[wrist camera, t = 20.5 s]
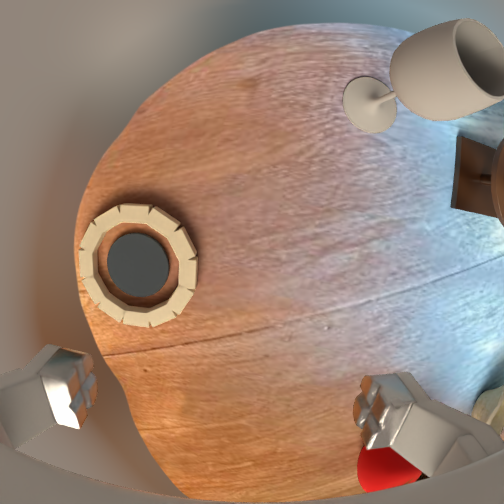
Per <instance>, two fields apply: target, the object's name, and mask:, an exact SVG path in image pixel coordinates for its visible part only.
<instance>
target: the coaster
mask: <svg viewBox="0 0 504 504" xmlns="http://www.w3.org/2000/svg"><path fill="white" fill-rule="evenodd" d="M107 266H108V271H109V274H110V276H111V279H112V280H113V282H114V283H115V284H116V286H117V287H118V288H119V289H121V290H122V291H123V292H125V293H127V294H129V295H132V296H136V297H146V296H150V295H153V294H155V293H156V292H158V291H159V290H160V289H161V288H162V287H163V285H164V284H165V282H166V280H167V278H168V275H169V260H168V256H167V254H166V252H165V250H164V248H163V247H162V245H161V244H160V243H159V242H158V241H157V240H155V239H154V238H153V237H151V236H149V235H147V234H143V233H129V234H126V235H124V236H122V237H120V238H119V239H117V240H116V241H115V242H114V243H113V245H112V246H111V248H110V250H109V253H108V258H107Z"/></svg>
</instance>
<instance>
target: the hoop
mask: <svg viewBox="0 0 504 504" xmlns="http://www.w3.org/2000/svg"><path fill="white" fill-rule="evenodd" d="M122 222H130V223H145V224H147V225H149V226H150V227H152V228H153V229H155V230H156V231H158V232H159V233H160V234H162V235H163V236H165V237H166V238H167V239H168V241H169V243H170V244H171V246H172V248H173V250H174V252H175V254H176V256H177V258H178V260H179V285H178V286H177V288H176V289H175V291H174V292H173V294H172V295H171V297H170V298H169V300H167V301H164V302H162V303H160V304H157V305H155V306H153V307H151V308H145V307H137V306H129V305H127V304H125V303H124V302H122V301H121V300H119V299H118V298H116V297H115V296H114V295H112V294H111V293H109V291H108V289H107V287H106V286H105V284H104V282H103V280H102V278H101V277H100V275H99V273H98V256H97V250H98V248H99V246H100V244H101V242H102V240H103V238H104V236H105V234H106V233H107V231H108V230H110V229H111V228H113V227H115V226H117V225H118V224H120V223H122ZM179 225H180V222H179V221H178V220H176V219H175V218H173V217H172V216H170V215H169V214H167V213H166V212H164V211H163V210H161V209H160V208H159V207H157V206H156V207H154V208H152V205H149V204H131V203H124V204H120V205H117V206H115V207H113V208H111V209H110V210H108V211H106V212H105V213H103V214H101V215H100V216H98V217H96V218H95V219H94V221H93V222H91V223H90V225H89V227H88V229H87V231H86V233H85V235H84V237H83V239H82V241H81V244H80V247H81V249H80V250H79V265H80V277H85V278H84V279H83V280H82V283H83V284H84V286H85V288H86V290H87V291H88V293H89V295H90V297H91V298H92V300H93V302H94V303H95V304H97V303H99V302H100V304H99V306H98V308H99V309H101V310H102V311H104V312H105V313H107V314H108V315H109V316H111V317H112V318H114V319H115V320H117V321H118V322H121V320H122V319H123V324H127V325H134V326H141V327H149V326H150V325H152V327H154V326H157V325H159V324H161V323H164V322H166V321H169V320H171V319H173V318H176V316H177V314H180V313H181V311H182V310H183V309H184V307H185V306H186V304H187V303H188V301H189V300H190V298H191V297H192V295H193V294H194V292H195V289H196V286H197V272H198V257H195V256H196V254H197V251H196V249H195V247H194V245H193V243H192V241H191V239H190V237H189V235H188V234H187V232H186V230H185V228H184V226H183V227H181V228H179V229H177V228H178V226H179Z"/></svg>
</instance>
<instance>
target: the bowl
mask: <svg viewBox="0 0 504 504" xmlns="http://www.w3.org/2000/svg"><path fill="white" fill-rule="evenodd" d="M471 417H473V418H475V419H477V420H479V421H482V422H484V423H486V424H488V425H490V426H491V427H492V428H493V429H494V430H495V431H496V433H497V434H498V435H499V436H500V434H501V432H502V430H503V427H504V385H502V386H501V387H498V388H496V389H493V390H487V391H485V392H483V393H482V394H481V395H480V397H479V398H478V399H477V401H476V403H475V405H474V407H473V411H472V416H471Z"/></svg>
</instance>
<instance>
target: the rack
mask: <svg viewBox="0 0 504 504" xmlns="http://www.w3.org/2000/svg"><path fill="white" fill-rule="evenodd" d="M451 208H455V209H460V210H464V211H469V212H474V213H478V214H483V215H487V216H491V217H496V218H498V219H499V221H500V222H501V224H502V225H503V227H504V139H503V140H502V141H501V142H500V144H499V146H498V147H497V150H496V149H494V148H491V147H489V146H486V145H484V144H481V143H479V142H476V141H473V140H471V139H468V138H465V137H463V136H458V137H457V144H456V160H455V173H454V183H453V192H452V200H451Z"/></svg>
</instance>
